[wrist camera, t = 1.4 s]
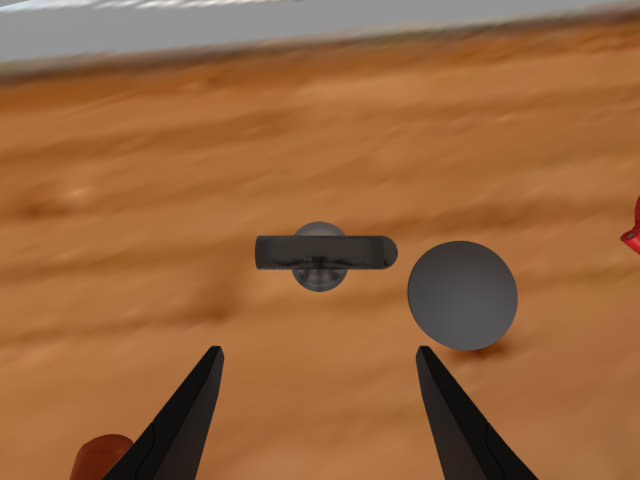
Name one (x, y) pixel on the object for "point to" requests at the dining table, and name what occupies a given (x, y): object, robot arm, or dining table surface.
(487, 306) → the mat
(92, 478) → the toy drill
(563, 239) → the dining table surface
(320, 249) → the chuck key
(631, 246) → the tow hook
